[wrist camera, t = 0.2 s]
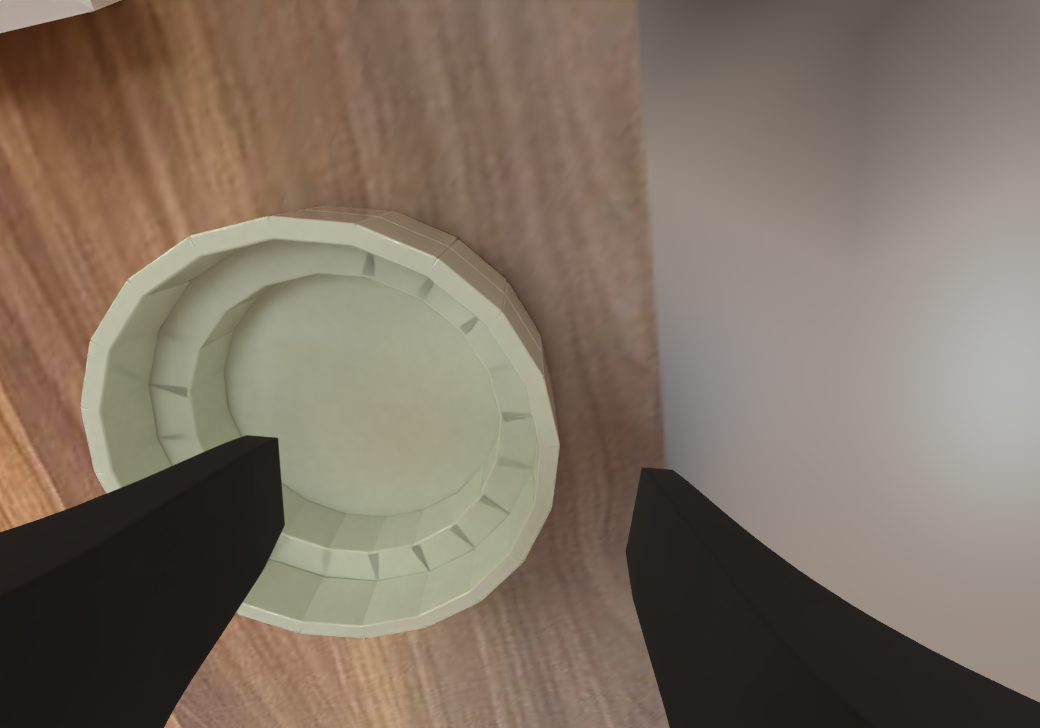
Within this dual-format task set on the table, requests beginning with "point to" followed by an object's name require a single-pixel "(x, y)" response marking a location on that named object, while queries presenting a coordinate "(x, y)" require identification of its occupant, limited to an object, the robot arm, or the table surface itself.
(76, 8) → the low-poly chess knight
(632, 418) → the table surface
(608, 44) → the table surface
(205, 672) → the table surface
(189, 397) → the bowl
